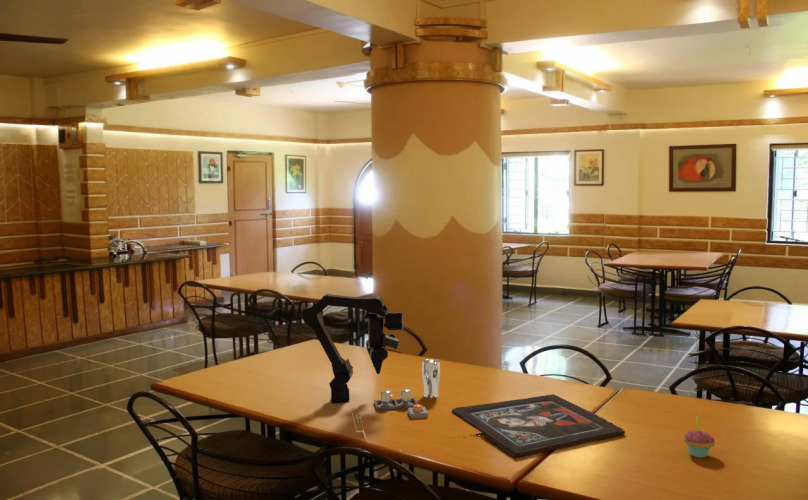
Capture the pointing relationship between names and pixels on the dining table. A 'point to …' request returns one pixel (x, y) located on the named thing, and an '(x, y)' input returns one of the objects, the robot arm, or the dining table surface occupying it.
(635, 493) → the dining table surface
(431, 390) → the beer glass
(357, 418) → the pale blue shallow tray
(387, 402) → the cylinder
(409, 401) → the cylinder
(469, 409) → the religious icon
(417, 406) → the brown egg
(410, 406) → the grey divided tray
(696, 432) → the cupcake
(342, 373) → the robot arm
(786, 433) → the dining table surface
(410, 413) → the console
